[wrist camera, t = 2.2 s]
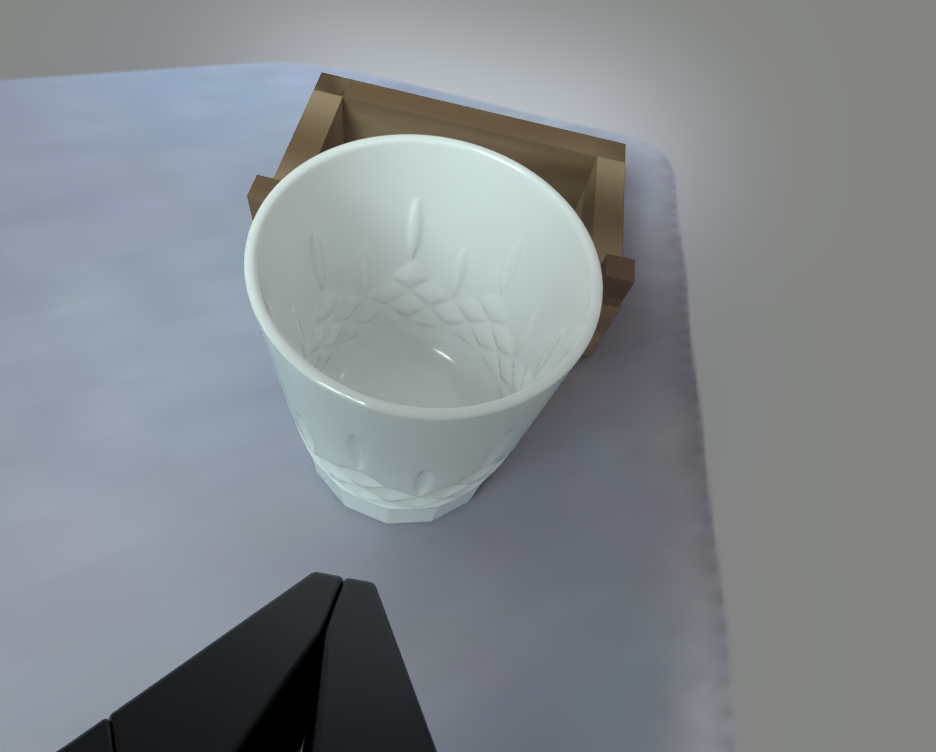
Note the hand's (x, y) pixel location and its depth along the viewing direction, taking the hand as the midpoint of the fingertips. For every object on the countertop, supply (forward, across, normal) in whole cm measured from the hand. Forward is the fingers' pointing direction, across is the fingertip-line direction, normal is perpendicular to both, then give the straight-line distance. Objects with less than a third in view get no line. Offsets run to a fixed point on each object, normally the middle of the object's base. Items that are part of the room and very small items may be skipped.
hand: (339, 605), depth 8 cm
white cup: (+14, 0, +3) cm, 14 cm away
